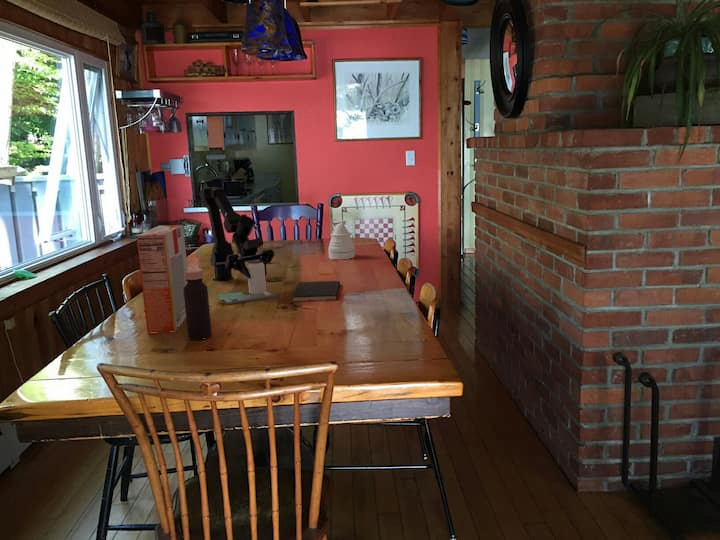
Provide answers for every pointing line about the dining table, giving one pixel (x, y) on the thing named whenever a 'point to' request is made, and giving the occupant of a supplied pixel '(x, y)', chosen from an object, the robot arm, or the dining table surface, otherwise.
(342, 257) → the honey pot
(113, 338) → the dining table surface
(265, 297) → the legend board
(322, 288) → the hardcover book
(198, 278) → the bottle
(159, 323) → the cereal box
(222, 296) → the pad
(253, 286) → the can
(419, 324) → the dining table surface
